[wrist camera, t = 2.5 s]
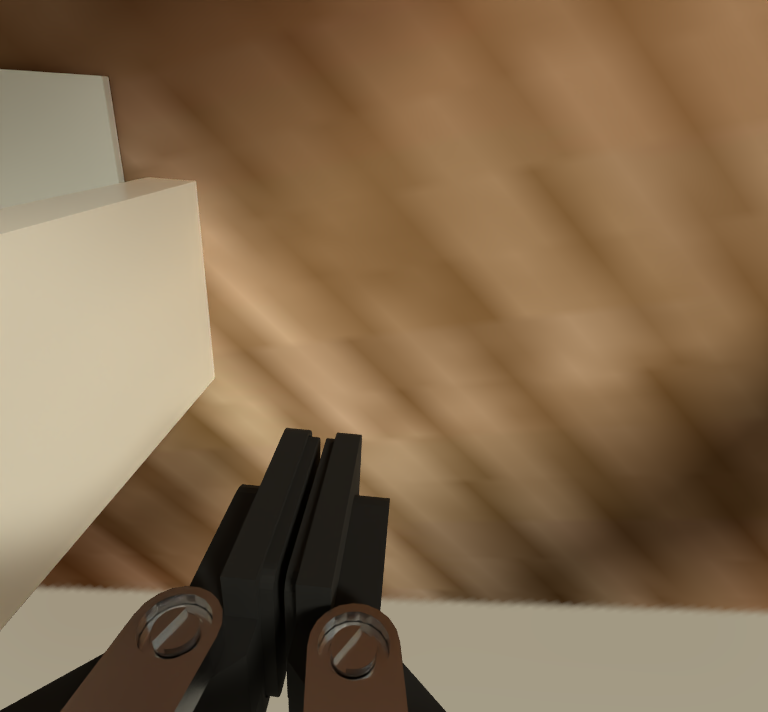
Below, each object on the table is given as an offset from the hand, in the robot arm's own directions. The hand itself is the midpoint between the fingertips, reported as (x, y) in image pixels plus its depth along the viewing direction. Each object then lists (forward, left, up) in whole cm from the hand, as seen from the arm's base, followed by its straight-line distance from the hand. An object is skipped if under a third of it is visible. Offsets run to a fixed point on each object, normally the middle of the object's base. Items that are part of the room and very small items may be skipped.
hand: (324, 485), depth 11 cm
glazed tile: (+9, 0, -12) cm, 15 cm away
